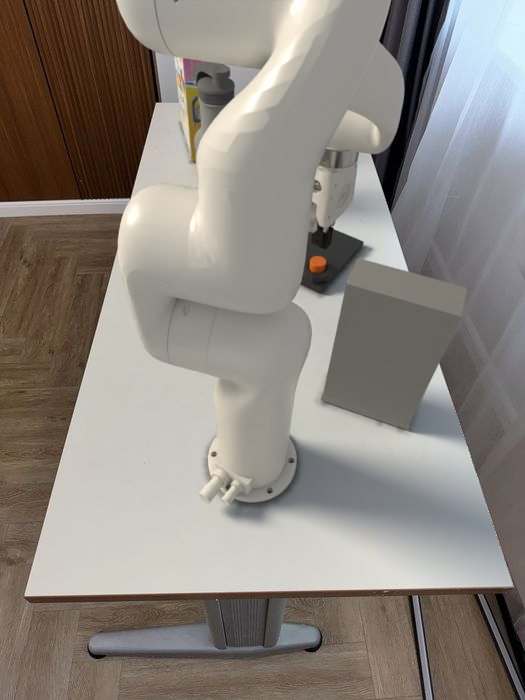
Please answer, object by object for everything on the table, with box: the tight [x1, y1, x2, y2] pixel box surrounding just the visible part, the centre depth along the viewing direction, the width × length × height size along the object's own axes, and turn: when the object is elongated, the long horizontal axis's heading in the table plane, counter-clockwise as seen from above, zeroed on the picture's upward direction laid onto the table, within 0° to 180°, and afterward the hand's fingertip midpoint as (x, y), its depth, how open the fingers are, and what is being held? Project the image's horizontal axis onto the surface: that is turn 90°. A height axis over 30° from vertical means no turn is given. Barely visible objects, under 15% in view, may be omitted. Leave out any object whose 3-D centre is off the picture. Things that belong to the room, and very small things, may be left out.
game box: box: [173, 56, 206, 162], centre depth 119 cm, size 21×6×27 cm, turn 13°
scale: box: [300, 228, 364, 295], centre depth 100 cm, size 17×16×3 cm
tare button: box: [309, 256, 326, 273], centre depth 94 cm, size 3×3×2 cm
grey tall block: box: [320, 257, 468, 431], centre depth 70 cm, size 14×6×25 cm, turn 68°
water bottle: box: [190, 62, 236, 182], centre depth 102 cm, size 10×10×28 cm
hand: (320, 244), depth 91 cm, fingers closed
